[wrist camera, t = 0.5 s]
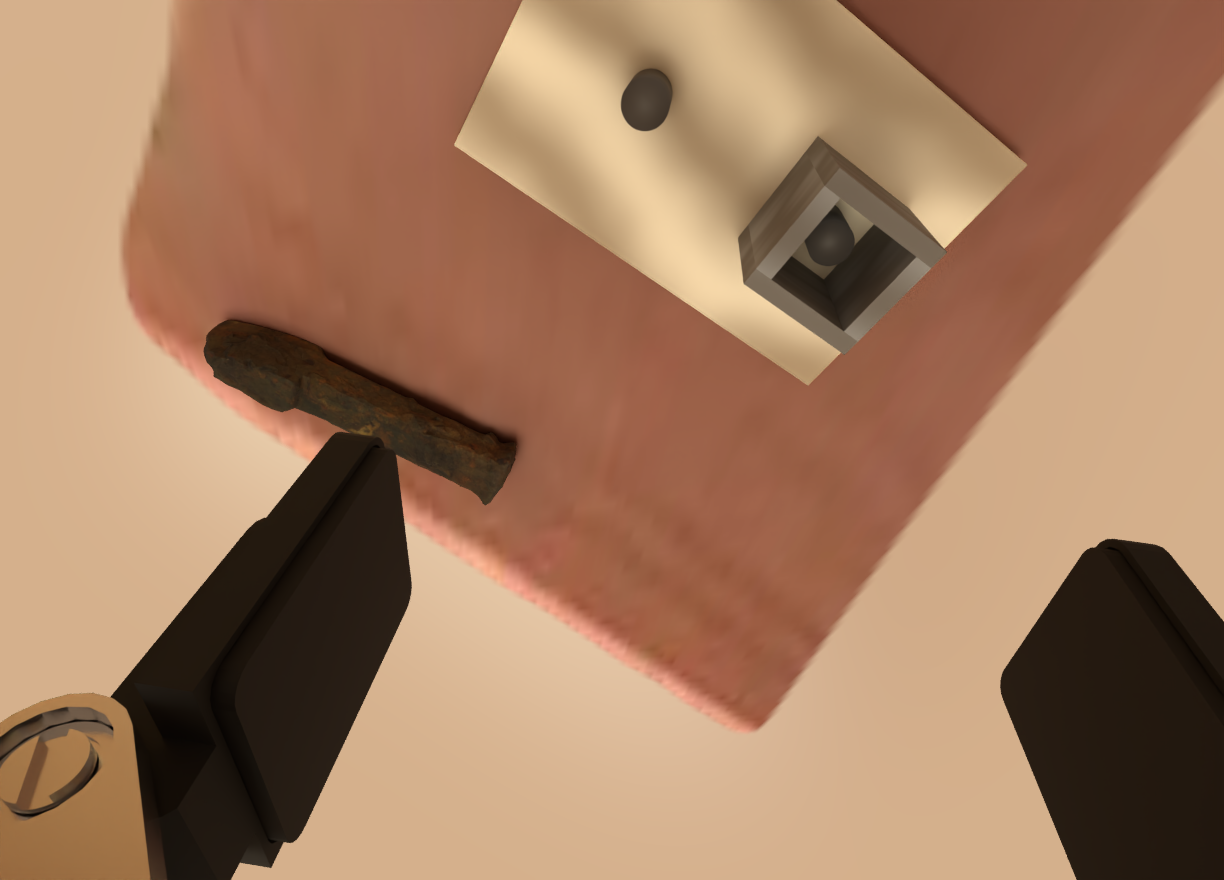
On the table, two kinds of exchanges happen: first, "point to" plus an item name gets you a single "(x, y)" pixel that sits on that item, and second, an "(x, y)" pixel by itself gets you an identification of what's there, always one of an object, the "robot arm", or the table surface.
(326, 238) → the table surface
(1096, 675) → the robot arm
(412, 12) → the table surface
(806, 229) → the seat plate
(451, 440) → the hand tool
